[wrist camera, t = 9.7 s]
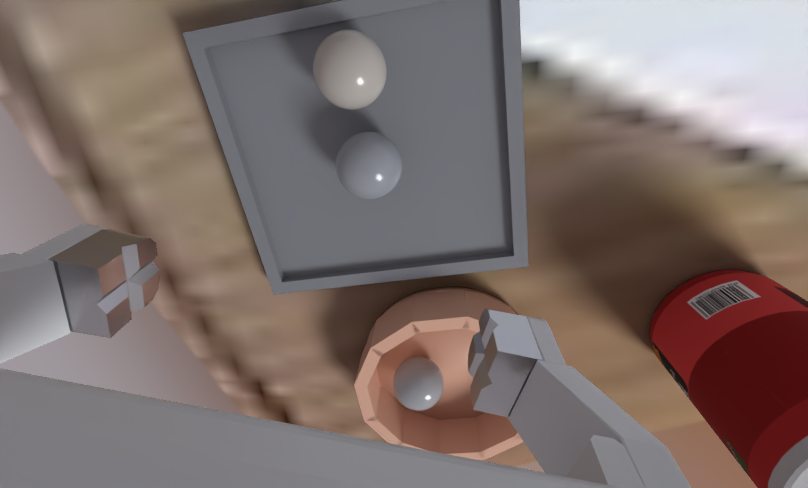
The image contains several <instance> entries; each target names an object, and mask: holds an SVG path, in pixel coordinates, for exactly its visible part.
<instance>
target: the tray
mask: <svg viewBox="0 0 808 488" xmlns="http://www.w3.org/2000/svg"><path fill="white" fill-rule="evenodd" d="M340 30H356V31H359V32H362V33H364V34H366V35H367V36H369V37H370V38H371V39H373V40H374V41H375V42H376V44H377V45H378V46H379V48H380V49H381V51H382V53H383V55H384V58H385V61H386V67H387V77H386V82H385V86H384V88H383V90H382V92H381V94H380V95H379V97H378V98H377V99H376V100H375V101H374V102H373V103H371V104H370V105H368V106H366V107H364V108H360V109H354V110H349V109H343V108H340V107H338V106H336V105H334V104H332V103H331V102H329V101H328V100H327V99H326V98H325V97H324V96H323V95H322V93H321V92H320V90H319V88H318V87H317V84H316V82H315V78H314V73H313V61H314V56H315V53H316V51H317V49H318V47H319V45H320V44H321V43H322V41H323V40H324V39H325V38H326V37H328V36H329V35H330V34H332V33H334V32H336V31H340ZM183 36H184V39H185V42H186V45H187V48H188V50H189V53H190V56H191V59H192V62H193V65H194V68H195V71H196V73H197V76H198V79H199V82H200V85H201V88H202V91H203V93H204V96H205V99H206V102H207V105H208V108H209V111H210V114H211V116H212V119H213V122H214V125H215V128H216V131H217V134H218V137H219V139H220V142H221V145H222V148H223V151H224V154H225V157H226V160H227V162H228V165H229V168H230V171H231V174H232V177H233V180H234V182H235V185H236V188H237V191H238V194H239V197H240V200H241V203H242V205H243V208H244V211H245V214H246V217H247V220H248V223H249V226H250V228H251V231H252V234H253V237H254V240H255V243H256V246H257V249H258V251H259V254H260V257H261V260H262V263H263V266H264V269H265V271H266V274H267V277H268V280H269V283H270V286H271V289H272V292H273V294H282V293H291V292H300V291H309V290H319V289H328V288H337V287H346V286H355V285H364V284H373V283H382V282H392V281H401V280H410V279H419V278H428V277H437V276H446V275H456V274H465V273H474V272H483V271H492V270H501V269H510V268H520V267H528V239H527V210H526V181H525V152H524V123H523V94H522V65H521V36H520V7H519V0H341V1H336V2H331V3H327V4H322V5H317V6H312V7H307V8H302V9H297V10H292V11H287V12H283V13H278V14H273V15H268V16H263V17H258V18H253V19H248V20H243V21H239V22H234V23H229V24H224V25H219V26H214V27H209V28H204V29H199V30H195V31H190V32H185V33H183ZM367 131H370V132H377V133H380V134H382V135H384V136H386V137H387V138H389V139H390V140H391V141H392V142H393V143H394V144H395V145H396V147H397V148H398V150H399V152H400V155H401V158H402V174H401V177H400V179H399V182H398V183H397V185H396V186H395V188H394V189H393V190H392V191H391V192H389V193H388V194H386V195H384V196H382V197H380V198H376V199H364V198H360V197H357V196H355V195H353V194H351V193H350V192H349V191H347V190H346V189H345V188H344V186H343V185H342V184H341V182H340V180H339V178H338V175H337V172H336V158H337V154H338V151H339V149H340V147H341V146H342V145H343V143H344V142H345V141H346V140H347V139H348V138H350V137H351V136H353V135H355V134H357V133H360V132H367Z"/></svg>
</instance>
